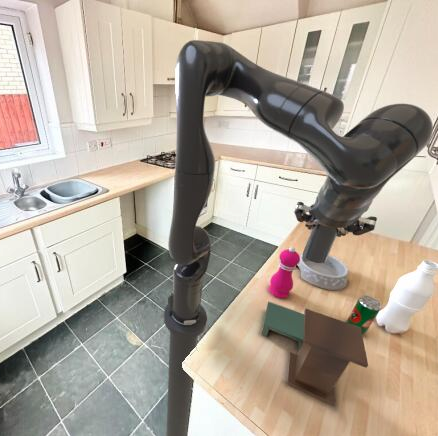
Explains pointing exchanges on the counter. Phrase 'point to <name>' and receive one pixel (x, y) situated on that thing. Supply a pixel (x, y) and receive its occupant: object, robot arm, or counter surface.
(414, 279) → the water bottle
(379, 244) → the counter surface
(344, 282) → the dog bowl
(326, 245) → the spice jar
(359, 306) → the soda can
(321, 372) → the wooden pedestal table
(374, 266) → the counter surface
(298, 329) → the low shelf
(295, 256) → the pepper mill
